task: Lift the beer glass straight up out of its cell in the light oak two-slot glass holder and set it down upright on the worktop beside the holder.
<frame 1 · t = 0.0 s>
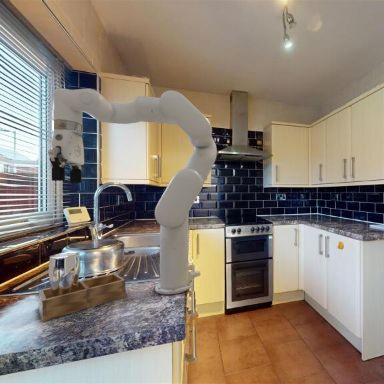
hand: (67, 181, 74), 37 cm above the counter, tool pointing down, fingers open, 9 cm apart
holder: (84, 302, 70), on the counter
beer glass: (64, 307, 66), resting on holder
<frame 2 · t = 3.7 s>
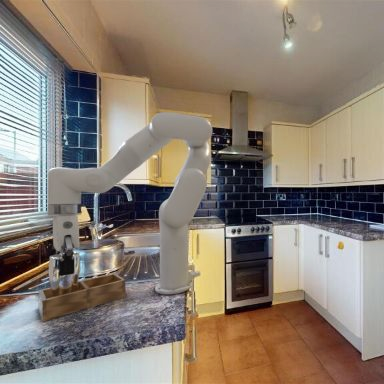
hand: (64, 271, 67), 11 cm above the counter, tool pointing down, fingers closed on beer glass, 7 cm apart
beer glass: (64, 307, 66), resting on holder, touching gripper
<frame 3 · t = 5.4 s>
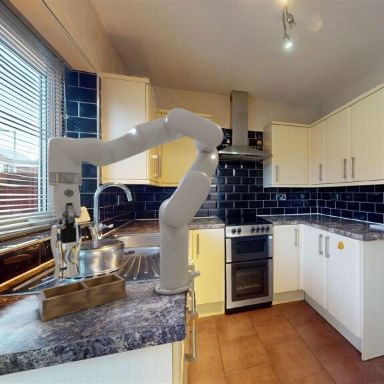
hand: (66, 240, 67), 20 cm above the counter, tool pointing down, fingers closed on beer glass, 7 cm apart
beer glass: (67, 276, 67), point 9 cm above the counter, touching gripper
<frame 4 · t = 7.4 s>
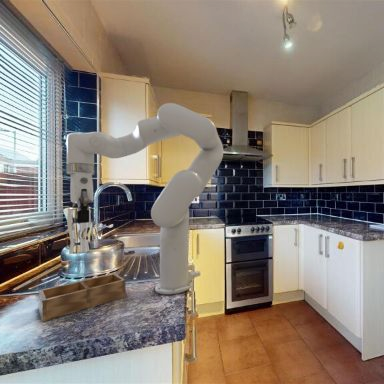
hand: (80, 221, 78), 24 cm above the counter, tool pointing down, fingers closed on beer glass, 7 cm apart
beer glass: (80, 252, 78), point 13 cm above the counter, touching gripper
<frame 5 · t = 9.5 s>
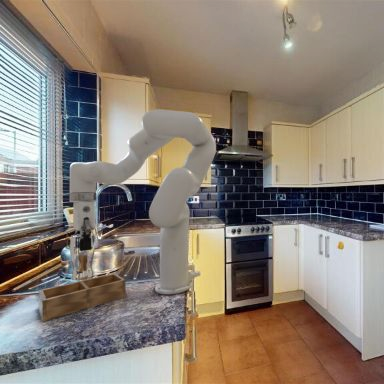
hand: (82, 248, 80), 14 cm above the counter, tool pointing down, fingers closed on beer glass, 7 cm apart
beer glass: (82, 278, 80), point 4 cm above the counter, touching gripper
when the fingers open (10 cm above the counter, at t = 11.2 s): beer glass stays where it is, on the counter.
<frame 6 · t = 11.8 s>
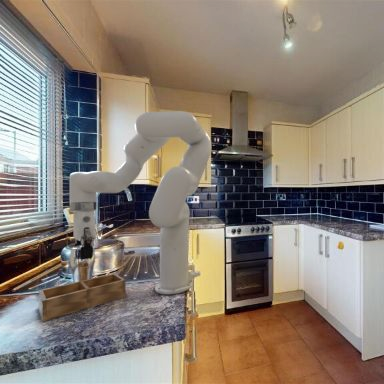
hand: (83, 256, 80), 12 cm above the counter, tool pointing down, fingers open, 9 cm apart
beer glass: (82, 290, 80), on the counter
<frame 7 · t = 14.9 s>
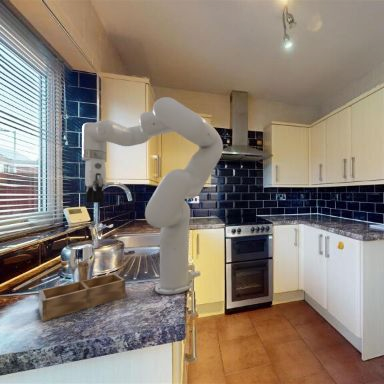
hand: (94, 202, 86), 30 cm above the counter, tool pointing down, fingers open, 9 cm apart
nothing on the counter moved.
at the end: beer glass inside the target area (0.0 cm from its centre), on the counter; beer glass tilted 0°; beer glass touching counter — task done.
